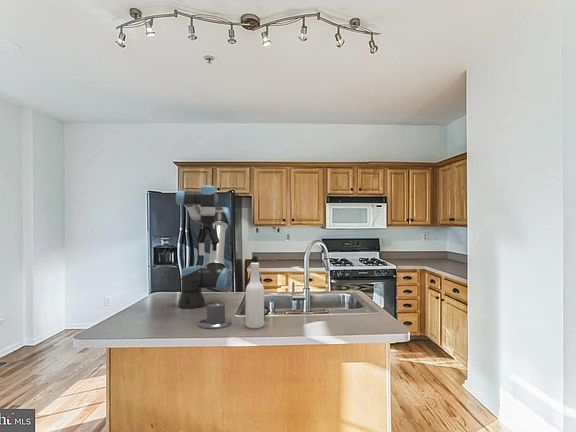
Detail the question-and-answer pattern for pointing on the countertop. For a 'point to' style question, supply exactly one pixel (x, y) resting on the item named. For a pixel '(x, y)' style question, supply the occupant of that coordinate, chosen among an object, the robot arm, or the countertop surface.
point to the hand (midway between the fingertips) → (207, 256)
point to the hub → (207, 325)
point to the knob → (216, 313)
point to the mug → (264, 310)
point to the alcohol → (254, 299)
